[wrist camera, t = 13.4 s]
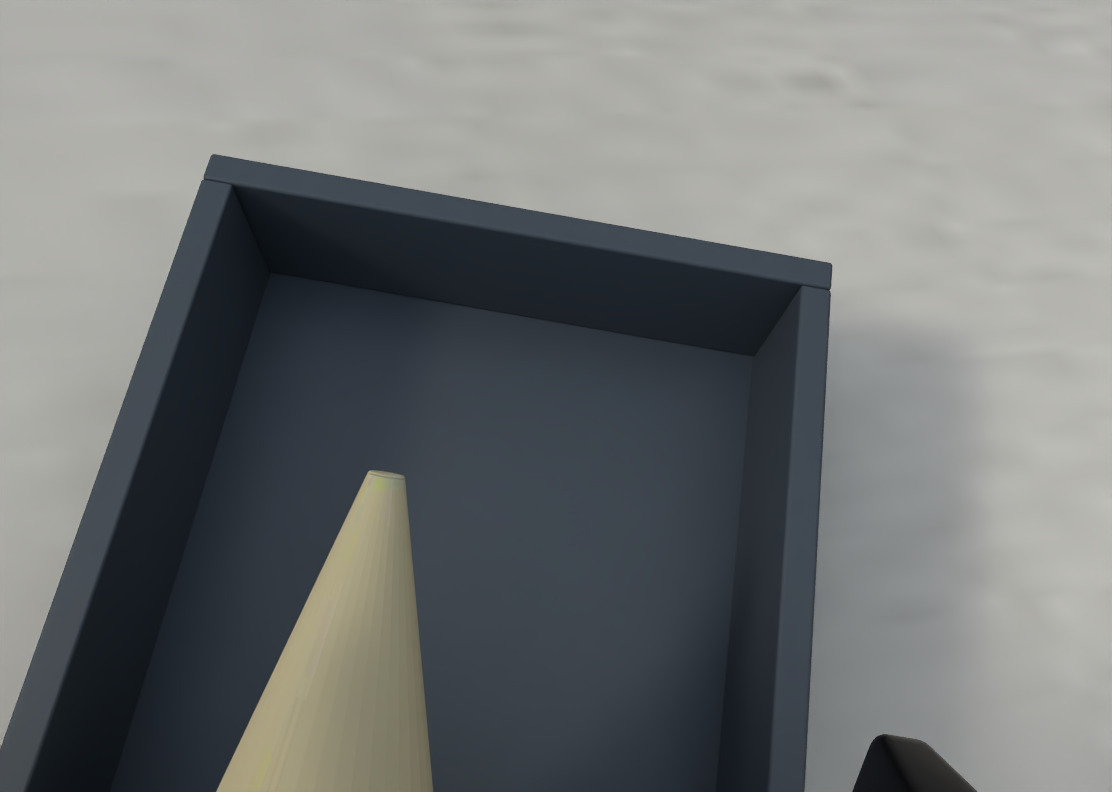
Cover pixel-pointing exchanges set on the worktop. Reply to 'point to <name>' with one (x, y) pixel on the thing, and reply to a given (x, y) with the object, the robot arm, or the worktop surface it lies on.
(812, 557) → the tub
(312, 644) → the ice cream cone
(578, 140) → the worktop surface
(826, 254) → the worktop surface
